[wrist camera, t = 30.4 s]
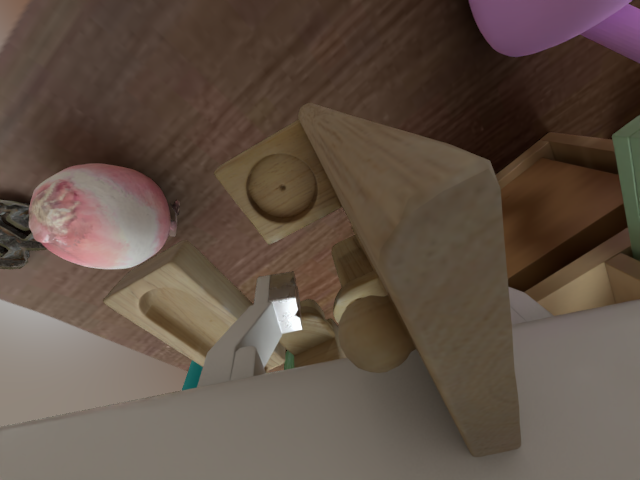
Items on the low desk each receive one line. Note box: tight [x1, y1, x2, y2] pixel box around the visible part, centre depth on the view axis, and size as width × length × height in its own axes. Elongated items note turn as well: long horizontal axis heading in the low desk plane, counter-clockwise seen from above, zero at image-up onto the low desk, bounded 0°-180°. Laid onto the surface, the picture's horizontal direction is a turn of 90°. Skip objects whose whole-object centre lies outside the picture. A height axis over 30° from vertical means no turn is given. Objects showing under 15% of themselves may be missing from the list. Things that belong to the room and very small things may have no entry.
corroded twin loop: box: [0, 200, 47, 269], centre depth 20 cm, size 5×8×1 cm, turn 123°
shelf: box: [496, 132, 640, 316], centre depth 18 cm, size 16×12×22 cm
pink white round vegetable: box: [29, 163, 180, 269], centre depth 17 cm, size 8×8×7 cm
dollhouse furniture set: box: [103, 103, 521, 457], centre depth 10 cm, size 13×14×11 cm
